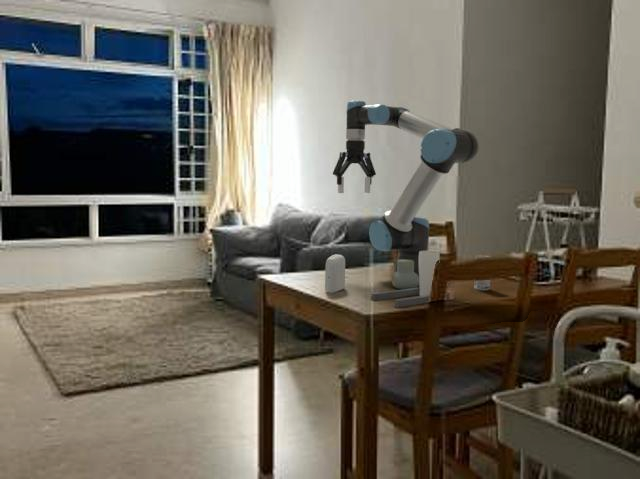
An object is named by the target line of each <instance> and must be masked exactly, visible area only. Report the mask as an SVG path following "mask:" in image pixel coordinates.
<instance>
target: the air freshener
mask: <svg viewBox="0 0 640 479" xmlns="http://www.w3.org/2000/svg"><path fill="white" fill-rule="evenodd" d="M396 261H397V260H396ZM391 284H392V286H393V287H395V288H396V290H403V289H411V288H418V286H419V277H418V275H417V274H416V273H415V272H414V261H413V260H408V259H400V260H398V261H397V272H395V273H394V272H393V273H392V275H391Z"/></svg>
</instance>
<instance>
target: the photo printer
mask: <svg viewBox="0 0 640 479" xmlns="http://www.w3.org/2000/svg"><path fill="white" fill-rule="evenodd" d="M324 270H325V273H324V274H325V275H324V276H325V277H324V278H325V279H324V280H325V281H324V283H325V284H324V290H325V292H326V293H328V292H329V294H330V293H331V294H333V293H337V292H338V291H339V292H340V291H341V290H343V289H345V286H346V259H345V256H343V255H342V254H332V255H331V256H329V257H328V258H327V259H326V262H325V269H324Z"/></svg>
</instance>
